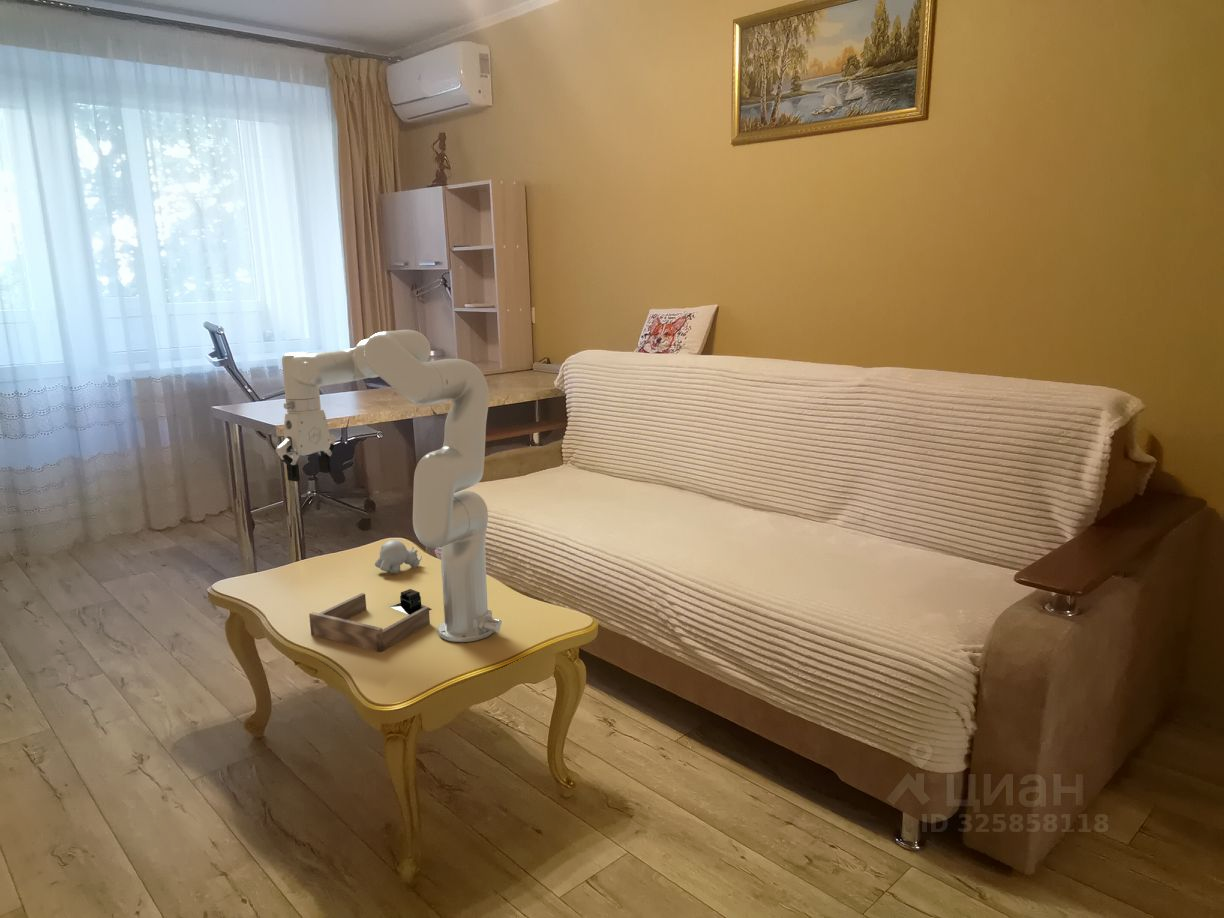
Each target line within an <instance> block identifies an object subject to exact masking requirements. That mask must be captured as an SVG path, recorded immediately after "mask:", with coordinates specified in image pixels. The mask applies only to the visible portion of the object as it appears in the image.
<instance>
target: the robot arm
mask: <svg viewBox="0 0 1224 918" xmlns="http://www.w3.org/2000/svg"><path fill="white" fill-rule="evenodd" d="M431 352H432V350H431V344H430V342H429V340H428V338H427V337H426V336H425V334H423V333H421V332H420V331H417V330H413V329H399V330H386V331H379V332H376V333H374V334H373V335H371V336H370V337H369V338H365V339H362V340H360V341H359V342H358V343H357V344H356V345H355V347H353V348H348V349H343V350H332V351H322V352H310V351H294V352H293V351H292V352H291V351H290V352H286V353H284V354H283V355H282V357H281V365H282V366H281V367H282V375H283V377H282V378H283V386H284V387H283V388H284V397H285V403H284V404H283V408H284V409H285V410H286V412H285V413H284V422H283V423H284V424H283V425H284V426H283V427H284V428H283V435H284V436H283V437H284V440H283V441H282V442H281V443H279V445H277V447H276V448H275V452H276V454H277V455H278V457H279V459H280V460H281V461H282V462H283V464H284V465H286V472H287V479H288V481H290V482H291V481H292V482H300V480H301V478H300V468H299V464H298V463H297V462H298V461H299V458H300V456H308V455H312V454H316V453H319V455H318V458H317V459H318V467H319V468H318V469H319V472H321V473H329V474H330V473H331V472H332V467H331V465H332V464H331V459H330V458H331V456H332V454H333V450H334V448H335V442H336V439H337V436H336V435H334V434H332V433H330V430H329V425H328V419H327V416H326V413H325V410H324V408H322V406H321V397H320V394H321V393H320V387H324V386H331V385H336V384H337V385H338V384H345V383H346V384H347V383H351V382H355V381H360V380H364V379H368V378H369V379H375V378H378V377H379V378H380V379H381V380H382V381H384V382H386V383H387V384H388V385H389V386H390V387H392V389H394V390H395V391H397V392H398V393H399V394H400V395H401V396H403V397H404V398H405V399H406V400H408V401H410V402H412V403H414V404H416V405H421V406H424V405H425V406H426V405H432V404H433V405H434V404H437V403H443V402H446V401H447V402H448V401H451V402H452V405H451V407H450V409H449V411H448V413H447V416H446V419H445V423H444V437H443V438H444V439H443V444H442V447H441V448H439V449H437V450H433V451H430V452H428V453H426V454H425V455H424V456H423V457H421V459H420V460H419V461H418V463H417V464H416V467H415V470H414V476H413V493H412V494H413V498H412V499H413V500H412V526H413V531H414V534H415V535H416V538H417V539H418V541H419V542H420V543H421V544H422V545H423V546H425V547H427V548H430V549H437V548H441V552H440V554H441V556H440V561H441V567H440V568H441V581H442V584H441V586H442V598H443V599H442V600H443V616H444V617H443V619H444V621H442V622H441V623H440V624H439V625H438V627H437V633H438V636H439V637H440V638H441V639H444V641H449V642H454V643H455V642H456V643H466V642H468V643H469V642H475V641H480V640H482V639H485V638H488V637H489V636H490V635H491V636H492V634H493V633H497V634H498V633H499V632H500V630H501V625H502V619H498V618H493V610H491V609H489V606H488V590H487V589H488V588H487V586H488V585H487V565H486V564H487V563H486V562H487V561H486V559H487V558H486V540H487V539H486V538H487V537H486V536H487V530H488V529H487V528H488V521H489V511H488V506H487V504H486V502H485V500H484V499H483V497H482V496H481V495H479V494H478V493H476V492H474V491H470V490H466V489H469V488H472V487H474V486H476V485H477V484H479V482H480V481H481V480H482V478H483V475H484V468H485V455H486V436H487V435H486V433H487V431H486V430H487V420H488V419H487V418H488V411H489V405H490V404H489V403H490V392H489V391H490V389H489V385H488V382H487V380H486V379H487V378H486V377H485V375H484V374H483V372H482V371H481V370H480V368H478V367H477V365H475V364H474V363H473V362H471V361H468V360H465V359H463V358H445V359H437V360H431V361H428V360H429V357H431V356H430V355H431Z"/></svg>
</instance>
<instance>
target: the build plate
mask: <svg viewBox="0 0 1224 918" xmlns="http://www.w3.org/2000/svg"><path fill="white" fill-rule="evenodd" d="M420 593H421V592H419V591H417V590H415V589H414V590H413V589H411V588H409V589H406V590H403V591H400V595H399V599H400V602H399V603H398V604H397V603H396V604H394V605H391V606H390V608H392V609H394V610H396V611H399V612H402V613H404V614H406V615H408V616H409V615H411V614H412V613H414V612H416V611H418V610H420V609H422V608H423V607H425V605H422V597H421V594H420ZM432 610H433V609H432V608H430V607H429V611H432Z"/></svg>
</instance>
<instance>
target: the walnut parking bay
mask: <svg viewBox="0 0 1224 918" xmlns="http://www.w3.org/2000/svg"><path fill="white" fill-rule="evenodd" d="M424 606H425V605H424ZM429 608H430V607H429V606H425V607H423V608H422V609H420V610H418V611H416V612H414V613H412V614H411V615H409V614H408V615H407V616H405V617H404V618H401V619H400V620H397V621H396V622H394V623H392V624H391V625H388V626H387V627H385V628H383V627H379V626H375V625H371V624H367V623H362V622H359V621H358V622H357V621H353V620H349V619H351V618H352V617H354V616H356V615H359V614H361V613H363V612H364V611H367V601H366V593H364V592H361V593H359V594H357V595H355V596H353V597H351V598H349V599H346V600H344V601H342V602H340V603H338V604H335V605H334V606H331V607H329V608H328V609H326V610H323V611H321V612H314V611H312V612H310V613H308V614H309V615H308V617H309V625H310V635H311V636H314V637H319V638H322V639H323V638H324V639H327V640H330V641H331V640H332V641H334V642H338V643H341V644H346V645H349V646H354V647H359V648H363V649H367V650H371V651H376V652H379V653H382V652H383V651H385V650H387V649H388V648H390V647H392V646H394V645H395V644H397V643H399V642H401V641H402V640H405V639H406V638H408V637H409V636H411V635H413V634H415V633H416V632H418V631H419V630H421V629H423V628H425V627H427V626H428V625H429V626H430V624H431V619H430V610H429Z"/></svg>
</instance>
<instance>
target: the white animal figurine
mask: <svg viewBox="0 0 1224 918" xmlns="http://www.w3.org/2000/svg"><path fill="white" fill-rule="evenodd" d="M414 549H415V547H414V546H412V547H411V548H410V549H409V548H408V549H407V546H406V545H405V544H404V543H403V542H402V541H400V540H398V539H391V540H388V541H386V542H385V543H384V544H383V545H381V548H380V550H379V557H378V558H377V559H376V561H375V563H374V566H375V567H376V568H378V569H380V570H381V571H383V572H389V573H391V574H396V575H398V574H399V573H400V571H401V566H402V565H403V564H406V565H409V566H410V567H411V568H417V567H418V566H419V565H420V563H421V561H422V559H423V558H422V555H420V557H419V556H418V554H417V553H418V550H417V549H416V550H414Z"/></svg>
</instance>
